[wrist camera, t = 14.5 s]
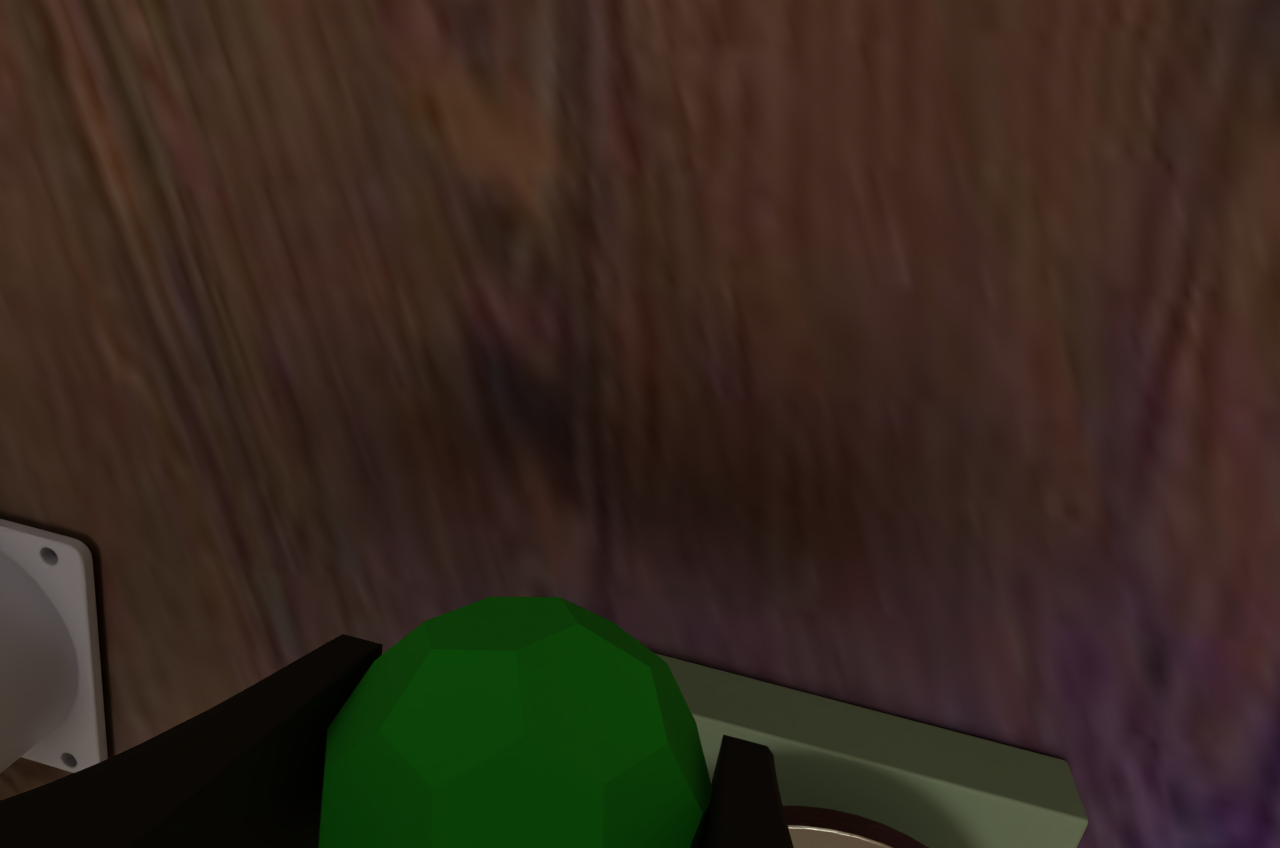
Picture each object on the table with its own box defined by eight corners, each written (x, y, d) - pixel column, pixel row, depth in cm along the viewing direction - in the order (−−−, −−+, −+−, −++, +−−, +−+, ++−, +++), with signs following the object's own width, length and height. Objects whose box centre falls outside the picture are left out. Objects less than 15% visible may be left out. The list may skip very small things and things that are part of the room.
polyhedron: (369, 702, 15) (172, 964, 10) (495, 475, 13) (319, 678, 8) (627, 858, 15) (543, 1186, 10) (792, 657, 13) (777, 954, 8)
